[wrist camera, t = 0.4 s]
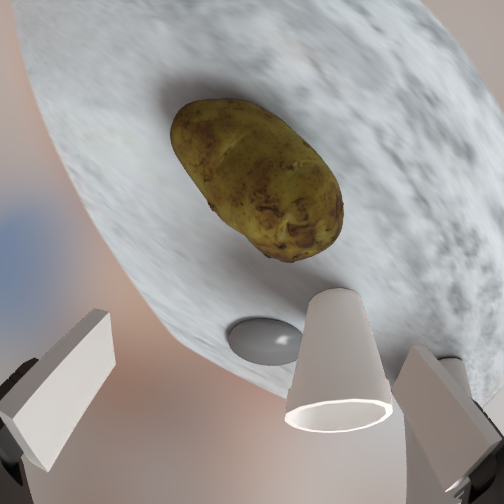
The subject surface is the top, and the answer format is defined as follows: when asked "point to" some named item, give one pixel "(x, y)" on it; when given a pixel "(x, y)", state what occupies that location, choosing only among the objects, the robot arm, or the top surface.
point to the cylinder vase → (418, 466)
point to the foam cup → (338, 368)
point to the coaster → (266, 341)
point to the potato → (259, 177)
